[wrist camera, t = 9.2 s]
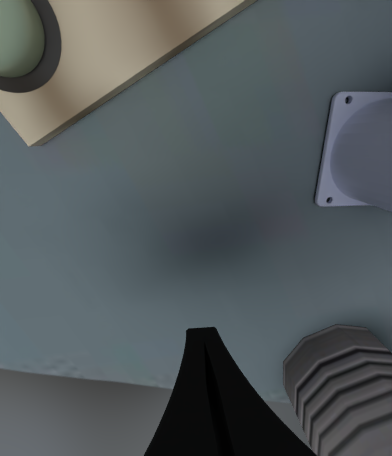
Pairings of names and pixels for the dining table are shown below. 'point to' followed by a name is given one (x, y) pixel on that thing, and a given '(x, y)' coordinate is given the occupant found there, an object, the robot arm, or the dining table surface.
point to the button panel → (101, 56)
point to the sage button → (19, 37)
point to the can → (342, 391)
